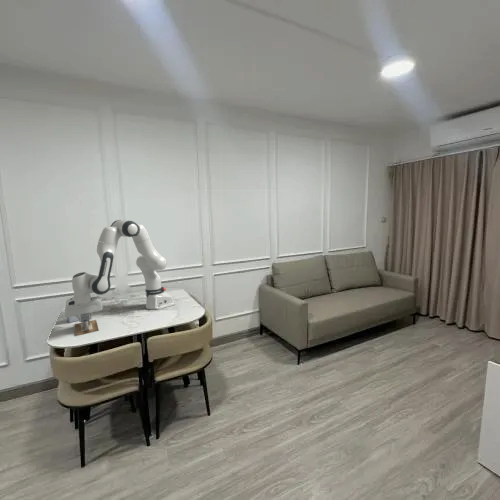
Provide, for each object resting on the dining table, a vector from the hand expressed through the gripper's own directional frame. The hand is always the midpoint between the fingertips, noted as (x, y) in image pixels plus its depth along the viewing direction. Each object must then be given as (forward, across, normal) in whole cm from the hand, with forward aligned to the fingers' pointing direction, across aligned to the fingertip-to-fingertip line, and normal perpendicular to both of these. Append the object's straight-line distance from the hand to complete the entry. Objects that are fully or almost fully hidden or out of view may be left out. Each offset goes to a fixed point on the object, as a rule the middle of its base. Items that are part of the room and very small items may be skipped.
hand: (85, 320), depth 176 cm
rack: (+6, 0, -2) cm, 6 cm away
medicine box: (+6, +6, -21) cm, 22 cm away
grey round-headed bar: (+2, 0, 0) cm, 2 cm away
